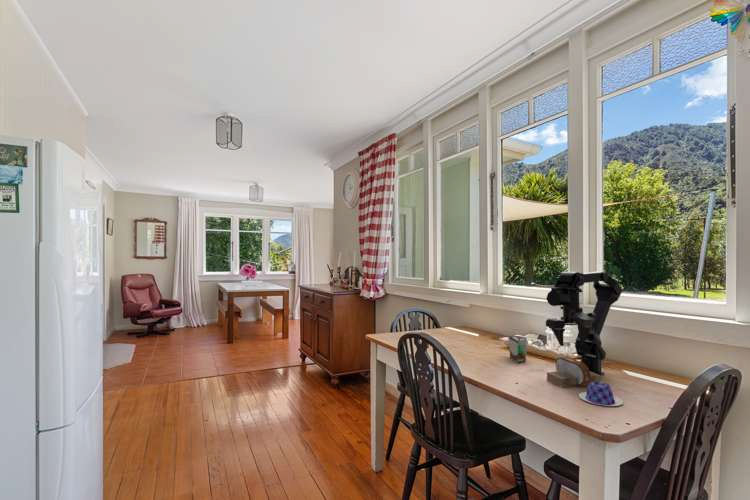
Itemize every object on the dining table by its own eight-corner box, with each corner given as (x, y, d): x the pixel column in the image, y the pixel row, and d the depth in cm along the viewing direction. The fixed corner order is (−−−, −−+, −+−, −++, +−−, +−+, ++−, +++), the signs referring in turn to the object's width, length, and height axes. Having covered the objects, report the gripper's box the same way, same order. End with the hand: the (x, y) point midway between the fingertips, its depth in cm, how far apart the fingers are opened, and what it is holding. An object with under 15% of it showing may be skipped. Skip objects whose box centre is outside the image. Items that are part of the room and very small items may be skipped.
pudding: (578, 391, 125) (578, 376, 125) (620, 397, 119) (620, 381, 119) (579, 404, 114) (578, 387, 115) (625, 411, 109) (624, 393, 109)
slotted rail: (584, 377, 140) (583, 369, 140) (601, 383, 132) (600, 375, 132) (547, 380, 136) (546, 372, 136) (562, 387, 128) (562, 378, 129)
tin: (591, 388, 127) (591, 364, 127) (584, 389, 127) (583, 364, 127) (561, 375, 142) (560, 353, 142) (554, 376, 141) (553, 354, 142)
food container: (533, 364, 158) (532, 340, 158) (518, 364, 158) (518, 340, 158) (522, 356, 170) (521, 335, 171) (508, 356, 170) (508, 335, 171)
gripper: (564, 307, 131) (566, 351, 130) (609, 306, 135) (610, 348, 134) (544, 304, 142) (545, 345, 141) (585, 302, 146) (586, 342, 145)
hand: (572, 345), depth 140 cm, fingers open, 9 cm apart
